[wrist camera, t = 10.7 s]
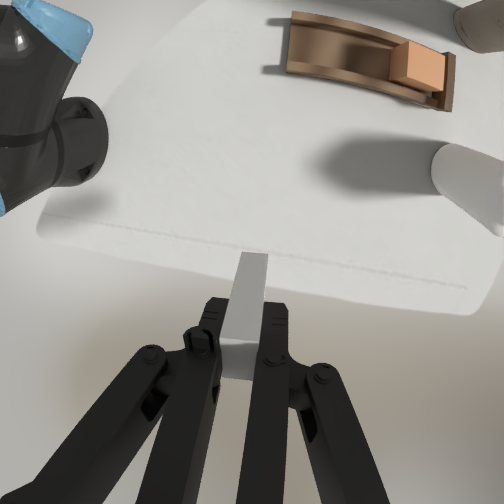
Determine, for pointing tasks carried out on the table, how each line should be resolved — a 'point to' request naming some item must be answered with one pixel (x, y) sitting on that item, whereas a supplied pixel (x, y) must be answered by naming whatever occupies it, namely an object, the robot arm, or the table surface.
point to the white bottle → (471, 183)
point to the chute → (357, 58)
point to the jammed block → (417, 67)
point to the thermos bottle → (482, 26)
